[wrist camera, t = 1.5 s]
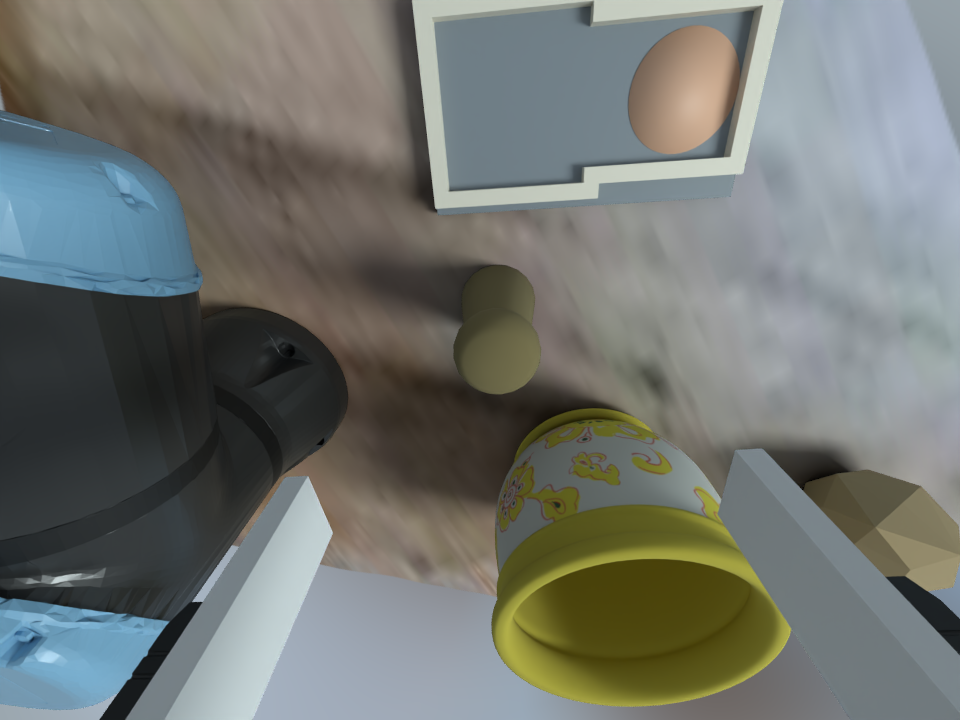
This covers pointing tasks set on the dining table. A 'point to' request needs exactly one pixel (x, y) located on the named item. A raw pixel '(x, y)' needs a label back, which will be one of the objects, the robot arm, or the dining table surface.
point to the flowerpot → (622, 570)
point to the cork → (497, 331)
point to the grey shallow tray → (589, 99)
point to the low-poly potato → (892, 525)
